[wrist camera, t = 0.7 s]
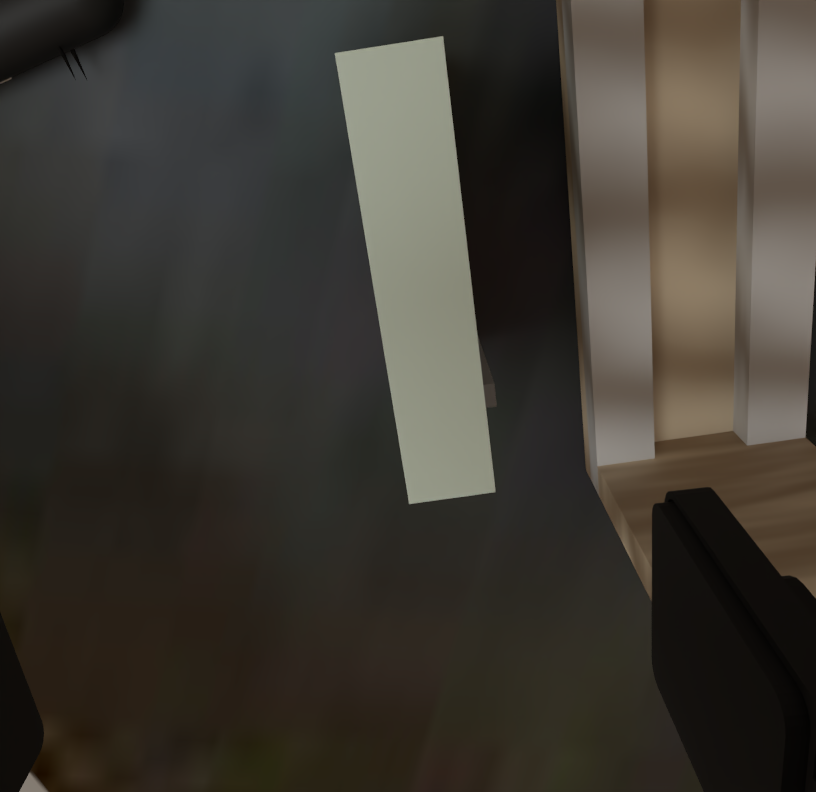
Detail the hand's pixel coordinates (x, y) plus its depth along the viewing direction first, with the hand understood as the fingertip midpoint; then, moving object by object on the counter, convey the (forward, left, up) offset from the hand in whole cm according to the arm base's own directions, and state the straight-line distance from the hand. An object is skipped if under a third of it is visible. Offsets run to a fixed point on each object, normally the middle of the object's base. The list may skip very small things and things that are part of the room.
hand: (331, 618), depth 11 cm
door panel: (-2, +2, -24) cm, 24 cm away
